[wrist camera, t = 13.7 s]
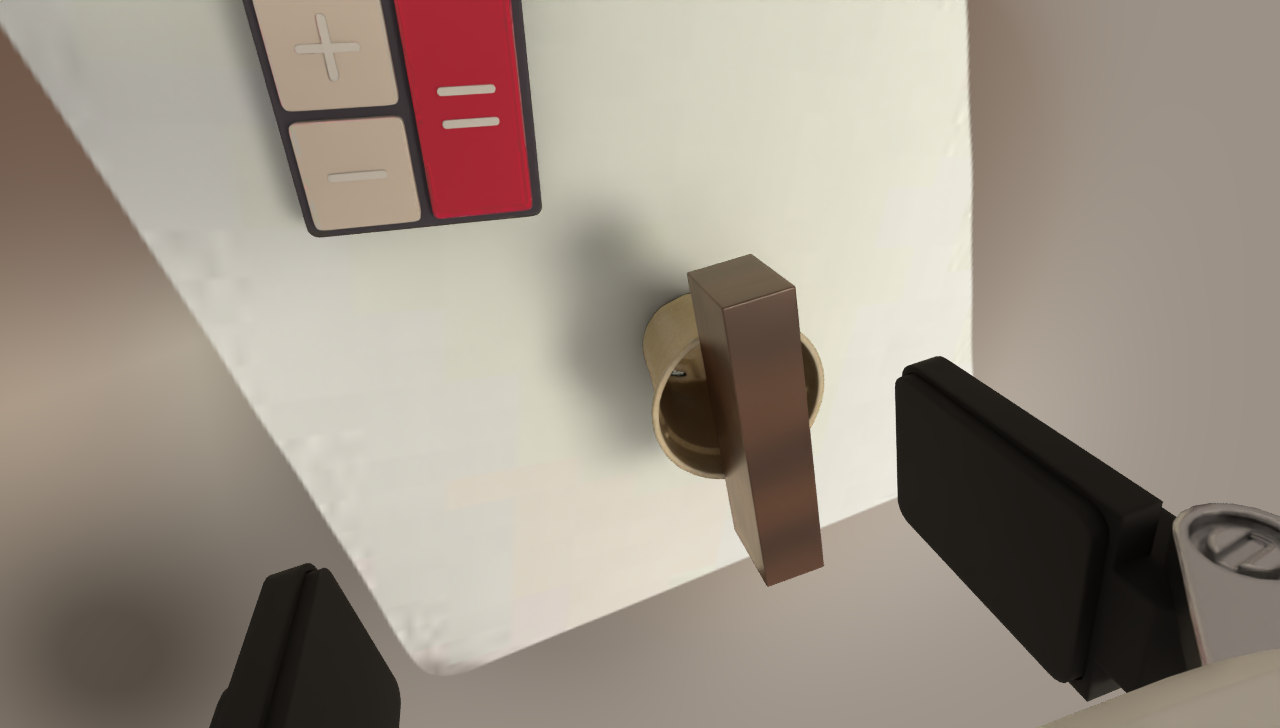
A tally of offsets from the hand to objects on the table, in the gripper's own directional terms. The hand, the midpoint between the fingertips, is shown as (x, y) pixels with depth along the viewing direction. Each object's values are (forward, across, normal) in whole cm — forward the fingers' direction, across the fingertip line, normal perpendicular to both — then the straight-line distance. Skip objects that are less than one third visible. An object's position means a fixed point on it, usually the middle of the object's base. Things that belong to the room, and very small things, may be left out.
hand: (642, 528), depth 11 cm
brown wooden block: (+20, -8, +12) cm, 24 cm away
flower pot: (+28, -8, +12) cm, 32 cm away
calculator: (+28, +3, -7) cm, 30 cm away
